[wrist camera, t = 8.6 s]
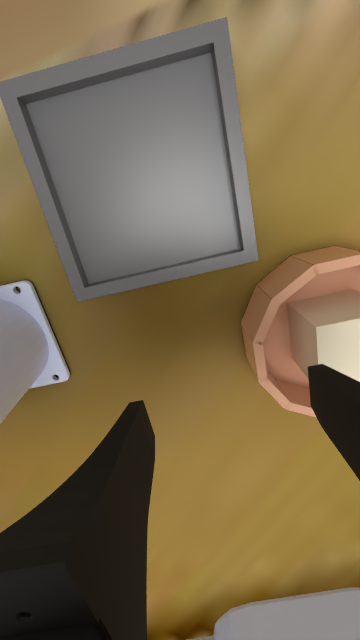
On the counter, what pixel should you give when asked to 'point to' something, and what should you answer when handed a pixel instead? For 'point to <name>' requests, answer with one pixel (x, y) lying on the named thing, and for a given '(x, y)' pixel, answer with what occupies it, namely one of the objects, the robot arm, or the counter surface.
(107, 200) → the parts tray
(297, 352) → the cream cube block
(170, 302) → the counter surface
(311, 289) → the bowl
